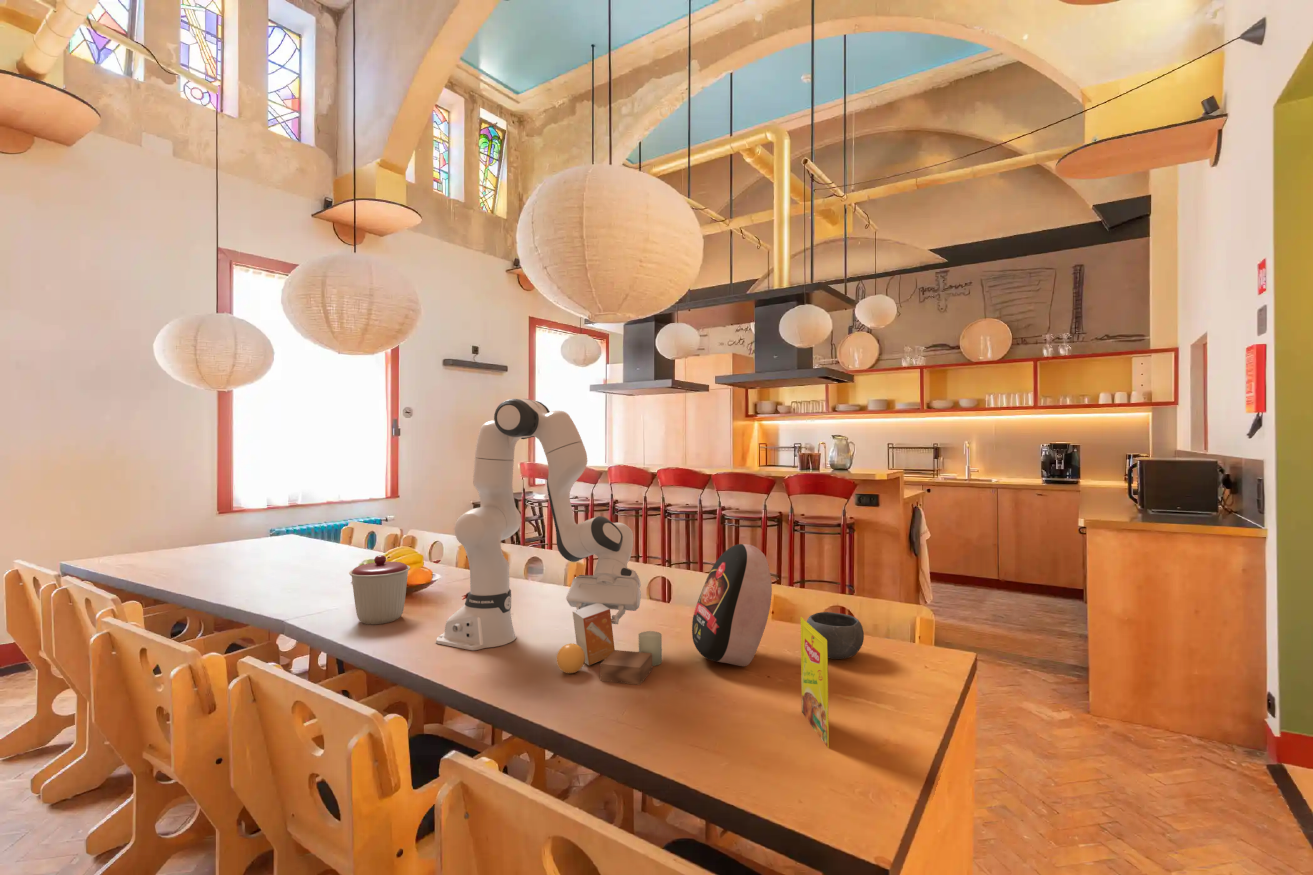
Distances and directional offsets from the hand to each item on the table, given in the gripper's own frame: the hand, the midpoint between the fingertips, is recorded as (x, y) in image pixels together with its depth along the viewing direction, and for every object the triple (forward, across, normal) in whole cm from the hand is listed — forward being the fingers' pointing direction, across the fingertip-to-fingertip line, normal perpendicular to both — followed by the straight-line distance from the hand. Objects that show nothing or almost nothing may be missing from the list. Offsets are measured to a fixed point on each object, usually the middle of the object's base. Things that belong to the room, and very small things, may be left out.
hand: (596, 621), depth 159 cm
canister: (-5, -82, +19) cm, 84 cm away
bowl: (-5, +60, +20) cm, 63 cm away
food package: (+25, +56, -10) cm, 62 cm away
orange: (+11, -3, -2) cm, 12 cm away
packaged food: (+1, +34, +14) cm, 37 cm away
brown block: (+12, +11, +2) cm, 17 cm away
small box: (+6, 0, +7) cm, 9 cm away
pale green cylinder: (+6, +14, +9) cm, 17 cm away
